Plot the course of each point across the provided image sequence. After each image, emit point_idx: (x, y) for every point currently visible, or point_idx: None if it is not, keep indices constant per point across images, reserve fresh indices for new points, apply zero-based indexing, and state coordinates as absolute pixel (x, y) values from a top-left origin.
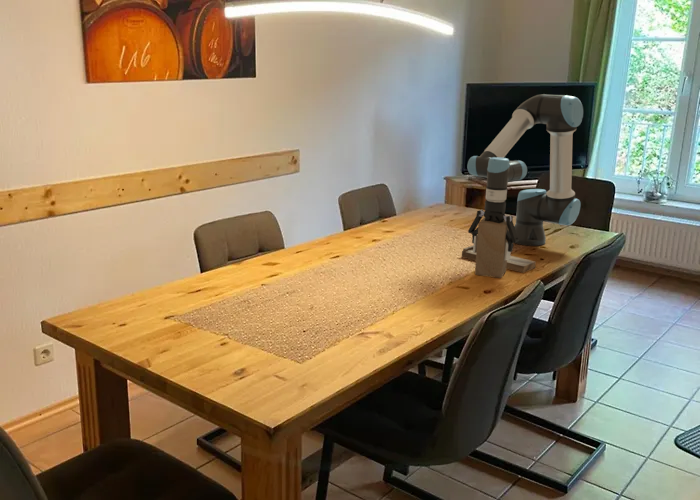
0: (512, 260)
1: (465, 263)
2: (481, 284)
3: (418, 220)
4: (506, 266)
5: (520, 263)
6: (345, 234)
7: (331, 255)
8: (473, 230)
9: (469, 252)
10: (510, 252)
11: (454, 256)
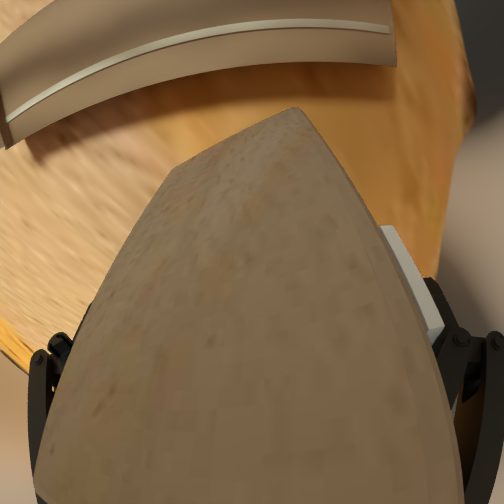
0: (264, 3)
1: (91, 183)
2: None
3: None
4: (306, 116)
5: (351, 28)
6: None
7: (21, 345)
8: (58, 378)
9: (23, 130)
10: (410, 257)
11: (13, 159)
